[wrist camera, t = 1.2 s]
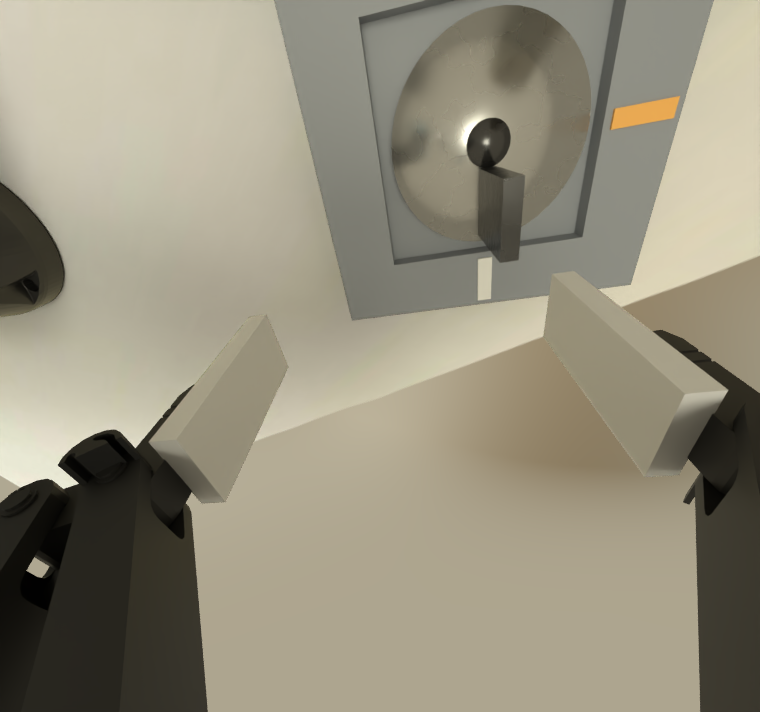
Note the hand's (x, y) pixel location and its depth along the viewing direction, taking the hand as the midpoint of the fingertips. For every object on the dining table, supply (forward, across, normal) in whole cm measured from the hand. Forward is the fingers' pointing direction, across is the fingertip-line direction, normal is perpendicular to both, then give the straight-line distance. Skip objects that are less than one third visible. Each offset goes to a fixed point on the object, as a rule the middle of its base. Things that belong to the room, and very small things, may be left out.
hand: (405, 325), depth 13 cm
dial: (+18, +7, +5) cm, 20 cm away
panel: (+20, +7, +5) cm, 22 cm away
